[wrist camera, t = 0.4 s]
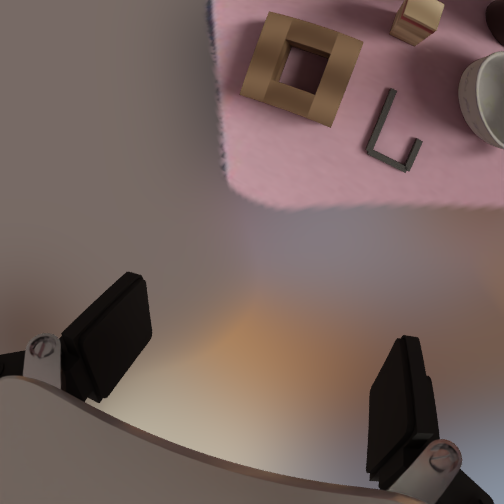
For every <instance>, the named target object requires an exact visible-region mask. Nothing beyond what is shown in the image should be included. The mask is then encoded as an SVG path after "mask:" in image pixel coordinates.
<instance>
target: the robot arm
mask: <svg viewBox="0 0 504 504" xmlns="http://www.w3.org/2000/svg"><path fill="white" fill-rule="evenodd" d="M61 334H62V336H61V337H60V338H58V337H57V336H55V335H54V334H50V333H43V334H39V335H37V336H35V337H34V338H32V339H31V340H30V341H29V343H28V344H27V347H26V350H25V351H20V352H14V353H8V354H2V355H0V504H494V502H493V500H492V498H491V497H490V496H489V495H488V494H487V493H486V492H485V491H484V490H482V489H481V488H480V487H479V486H478V485H477V484H476V483H475V482H474V481H473V480H471V479H470V478H469V477H468V476H467V475H466V474H465V473H464V472H463V471H462V470H461V469H460V467H461V465H462V455H461V452H460V450H459V448H458V447H457V446H456V445H455V444H454V443H452V442H451V441H448V440H445V439H440V437H439V429H438V421H437V413H436V406H435V399H434V392H433V387H432V381H431V378H430V377H429V376H426V371H425V367H424V360H423V355H422V350H421V345H420V341H419V338H418V337H412V336H406V335H403V336H402V337H401V339H399V338H397V339H396V341H395V343H394V345H393V347H392V349H391V351H390V353H389V355H388V357H387V359H386V361H385V362H384V364H383V366H382V368H381V370H380V372H379V374H378V376H377V378H376V379H375V381H374V383H373V385H372V387H371V390H370V396H369V430H368V449H367V463H366V472H367V473H370V481H379V488H380V490H378V489H370V488H364V487H355V486H347V485H339V484H332V483H325V482H319V481H313V480H307V479H302V478H296V477H291V476H286V475H281V474H276V473H272V472H268V471H263V470H259V469H255V468H251V467H248V466H244V465H240V464H237V463H233V462H229V461H226V460H222V459H219V458H216V457H213V456H209V455H206V454H204V453H200V452H198V451H195V450H192V449H189V448H186V447H183V446H181V445H178V444H175V443H173V442H170V441H168V440H165V439H163V438H160V437H158V436H155V435H153V434H150V433H148V432H146V431H143V430H141V429H139V428H136V427H134V426H131V425H130V424H128V423H125V422H123V421H121V420H119V419H117V418H115V417H113V416H111V415H109V414H107V413H105V412H103V411H101V410H99V409H96V408H95V407H92V406H91V405H89V404H87V403H85V400H86V399H87V398H90V399H92V400H94V401H95V402H97V403H100V402H101V400H102V399H103V398H107V397H108V396H109V395H110V393H111V392H112V391H113V389H114V387H115V386H116V385H117V384H118V382H119V381H120V379H121V378H122V377H123V376H124V374H125V373H126V372H127V370H128V369H129V368H130V366H131V365H132V364H133V362H134V361H135V359H136V358H137V357H138V355H139V354H140V353H141V351H142V350H143V349H144V348H145V346H146V345H147V344H148V342H149V341H150V339H151V337H152V327H151V319H150V312H149V304H148V295H147V287H146V282H145V280H143V277H142V276H141V275H138V274H135V273H132V272H126V273H125V274H124V275H123V276H122V277H120V278H119V279H118V280H117V281H116V282H115V283H114V284H113V285H112V286H111V287H109V288H108V289H107V290H106V291H105V292H104V293H103V294H102V295H101V296H100V297H99V298H98V299H97V300H96V301H94V302H93V303H92V304H91V305H90V306H89V307H88V308H87V309H86V310H85V311H84V312H83V313H82V314H81V315H80V316H79V317H78V318H77V319H75V320H74V322H72V323H71V324H70V325H69V326H68V327H67V328H66V329H65V330H64V331H63V332H62V333H61Z"/></svg>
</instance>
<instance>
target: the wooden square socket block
mask: <svg viewBox="0 0 504 504" xmlns="http://www.w3.org/2000/svg"><path fill="white" fill-rule="evenodd" d="M362 45H363V41H360V40H358V39H355V38H353V37H350V36H347V35H345V34H342V33H339V32H337V31H334V30H331V29H328V28H325V27H322V26H319V25H316V24H313V23H310V22H306V21H303V20H300V19H296V18H293V17H289V16H285V15H281V14H277V13H273V12H269V13H268V16H267V18H266V21H265V24H264V26H263V29H262V32H261V34H260V37H259V40H258V43H257V45H256V48H255V51H254V54H253V57H252V59H251V62H250V65H249V68H248V71H247V74H246V77H245V80H244V83H243V86H242V89H241V92H240V95H242V96H245V97H248V98H251V99H254V100H258V101H261V102H264V103H267V104H270V105H272V106H275V107H278V108H281V109H284V110H287V111H289V112H292V113H295V114H297V115H300V116H303V117H305V118H308V119H310V120H313V121H316V122H318V123H321V124H323V125H325V126H328V127H330V128H331V126H332V123H333V121H334V118H335V116H336V113H337V110H338V108H339V105H340V103H341V100H342V98H343V95H344V92H345V90H346V87H347V85H348V82H349V79H350V77H351V74H352V72H353V69H354V66H355V64H356V61H357V58H358V56H359V53H360V50H361V48H362ZM291 47H295V48H299V49H302V50H305V51H308V52H311V53H314V54H317V55H319V56H322V57H325V58H328V59H329V60H328V63H327V65H326V68H325V71H324V73H323V76H322V79H321V81H320V84H319V87H318V89H317V92H316V95H314V94H311V93H308V92H306V91H303V90H300V89H297V88H295V87H292V86H289V85H286V84H283V83H280V82H279V80H280V77H281V74H282V71H283V69H284V66H285V63H286V61H287V58H288V55H289V52H290V50H291Z"/></svg>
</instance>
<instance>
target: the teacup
mask: <svg viewBox="0 0 504 504" xmlns="http://www.w3.org/2000/svg"><path fill="white" fill-rule="evenodd" d="M458 98H459V104H460V108H461V112H462V114H463V117H464V119H465V121H466V122H467V124H468V126H469V127H470V128H471V130H472V131H473V132H474V133H475V134H476V135H477V136H478V137H479V138H480V139H482V140H483V141H485V142H486V143H488V144H490V145H493V146H495V147H498V148H501V149H504V51H501V52H495V53H492V54H491V55H489V56H486V57H484V58H481V59H479V60H477V61H475V62H473V63H472V64H470V65H469V66H468V67H467V68H466V70H465V71H464V72H463V74H462V76H461V79H460V82H459V88H458Z"/></svg>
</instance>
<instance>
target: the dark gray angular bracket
mask: <svg viewBox="0 0 504 504" xmlns="http://www.w3.org/2000/svg"><path fill="white" fill-rule="evenodd" d="M396 92H397V91H396V90H394V89H392V88H390V91H389V93H388V96H387V98H386V101H385V103H384V106H383V108H382V111H381V113H380V116H379V118H378V121H377V123H376V126H375V128H374V130H373V133H372V135H371V138H370V140H369V142H368V145H367V147H366V150H367V151H368V152H367V154H368V155H370V156H373V157H375V158H377V159H379V160H381V161H383V162H385V163H387V164H389V165H391V166H393V167H395V168H397V169H399V170H401V171H403V172H405V173H406V171H410V169H411V167H412V165H413V163H414V160H415V158H416V156H417V154H418V151H419V149H420V147H421V145H422V142H423V141H421V140H419V139H417V138H416V140H415V142H414V145H413V147H412V149H411V151H410V154H409V156H408V158H407V160H406V163H405V165H403V164H401V163H399V162H397V161H395V160H393V159H391V158H389V157H387V156H385V155H383V154H381V153H379V152H377V151H375V150H373V148H374V146H375V143H376V141H377V139H378V136H379V134H380V132H381V129H382V127H383V124H384V122H385V120H386V117H387V115H388V112H389V110H390V107H391V105H392V102H393V100H394V97H395V95H396Z"/></svg>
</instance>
